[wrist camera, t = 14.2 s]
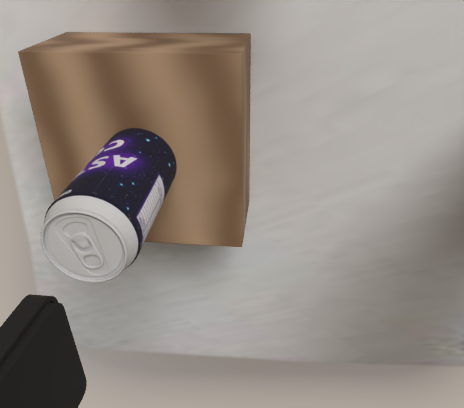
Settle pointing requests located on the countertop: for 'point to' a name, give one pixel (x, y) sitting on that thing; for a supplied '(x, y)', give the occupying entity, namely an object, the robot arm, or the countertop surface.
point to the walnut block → (152, 118)
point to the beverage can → (109, 207)
